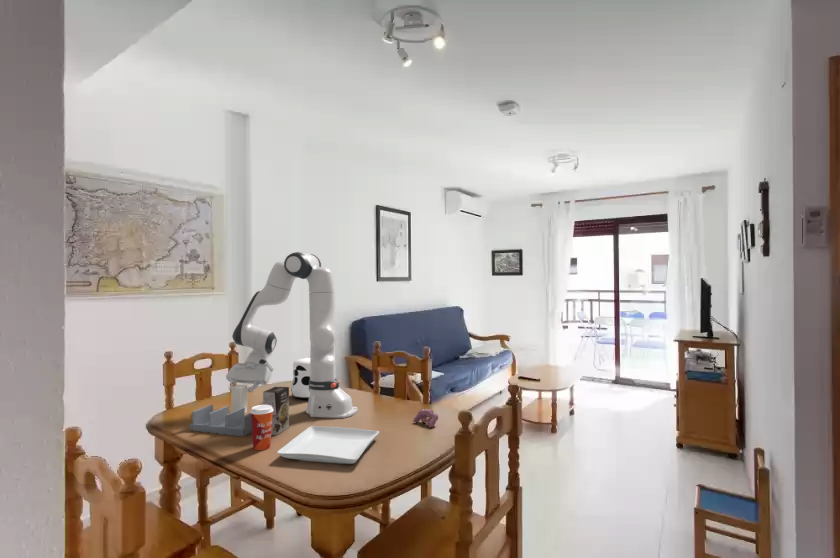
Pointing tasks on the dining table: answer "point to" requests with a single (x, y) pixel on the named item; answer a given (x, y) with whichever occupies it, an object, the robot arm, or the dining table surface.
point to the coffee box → (278, 408)
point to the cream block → (238, 397)
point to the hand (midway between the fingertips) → (240, 390)
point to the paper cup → (261, 426)
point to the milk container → (301, 378)
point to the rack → (221, 421)
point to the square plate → (329, 444)
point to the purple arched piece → (423, 416)
